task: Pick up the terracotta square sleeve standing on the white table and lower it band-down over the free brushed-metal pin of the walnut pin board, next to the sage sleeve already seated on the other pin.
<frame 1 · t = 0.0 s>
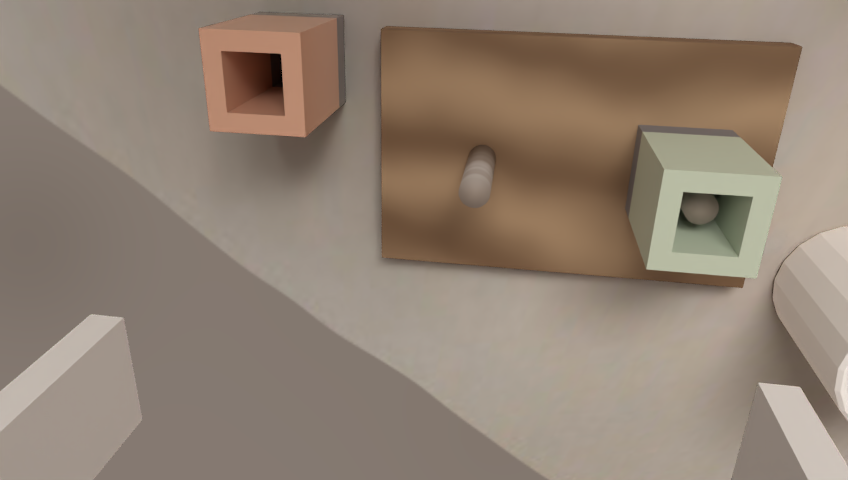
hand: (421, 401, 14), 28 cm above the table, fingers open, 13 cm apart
pin board: (567, 156, 40), on the table
sage sleeve: (676, 170, 38), point 1 cm above the table, touching pin board
terracotta sleeve: (303, 57, 40), on the table
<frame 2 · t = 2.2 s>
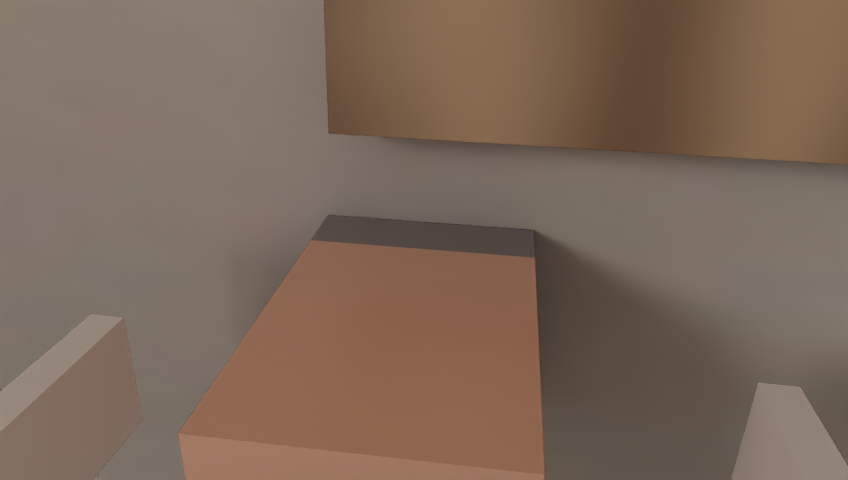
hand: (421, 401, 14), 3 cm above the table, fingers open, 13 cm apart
terracotta sleeve: (426, 312, 17), on the table
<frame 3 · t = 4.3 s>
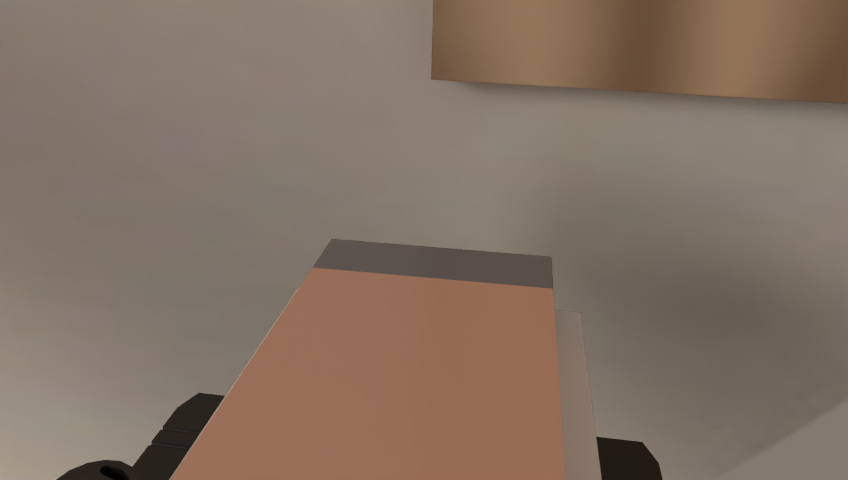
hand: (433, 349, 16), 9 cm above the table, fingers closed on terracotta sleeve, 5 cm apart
terracotta sleeve: (436, 341, 16), point 9 cm above the table, touching gripper
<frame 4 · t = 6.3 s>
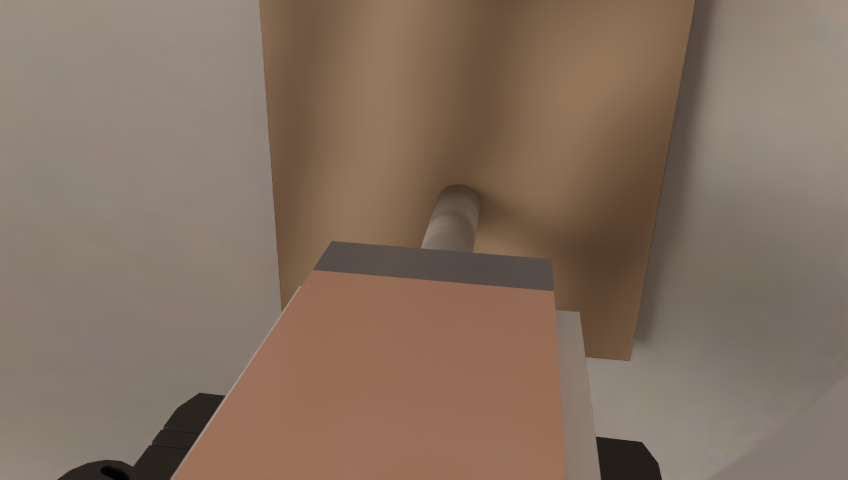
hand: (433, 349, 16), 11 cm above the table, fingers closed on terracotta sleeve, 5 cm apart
pin board: (468, 58, 24), on the table
terracotta sleeve: (436, 343, 16), point 11 cm above the table, touching gripper
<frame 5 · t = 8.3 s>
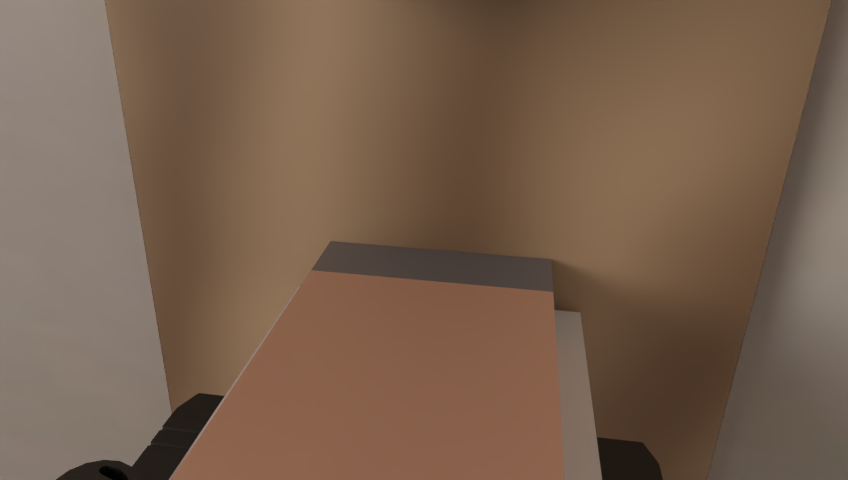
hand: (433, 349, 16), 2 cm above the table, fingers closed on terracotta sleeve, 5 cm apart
pin board: (445, 122, 15), on the table
terracotta sleeve: (435, 344, 16), point 2 cm above the table, touching gripper
when the fingers open (2 cm above the table, at t = 8.4 s): terracotta sleeve stays where it is, resting on pin board.
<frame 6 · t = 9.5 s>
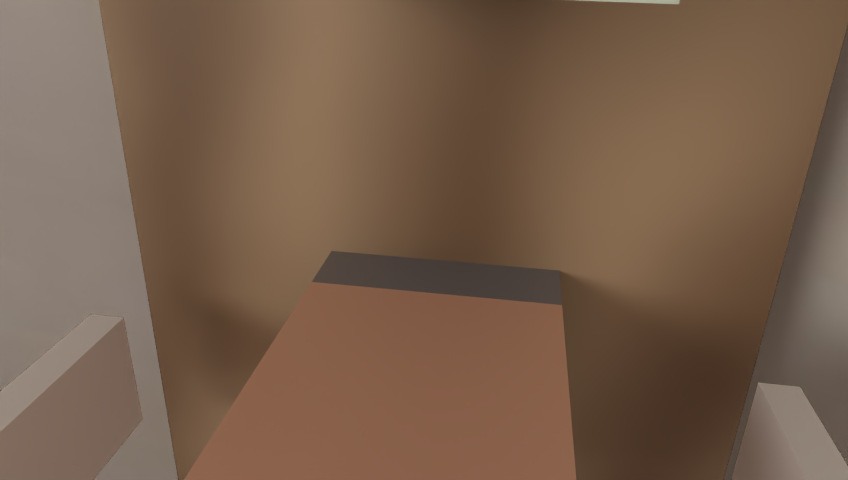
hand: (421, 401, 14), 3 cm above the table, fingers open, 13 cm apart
pin board: (450, 128, 15), on the table
terracotta sleeve: (439, 356, 16), point 1 cm above the table, touching pin board
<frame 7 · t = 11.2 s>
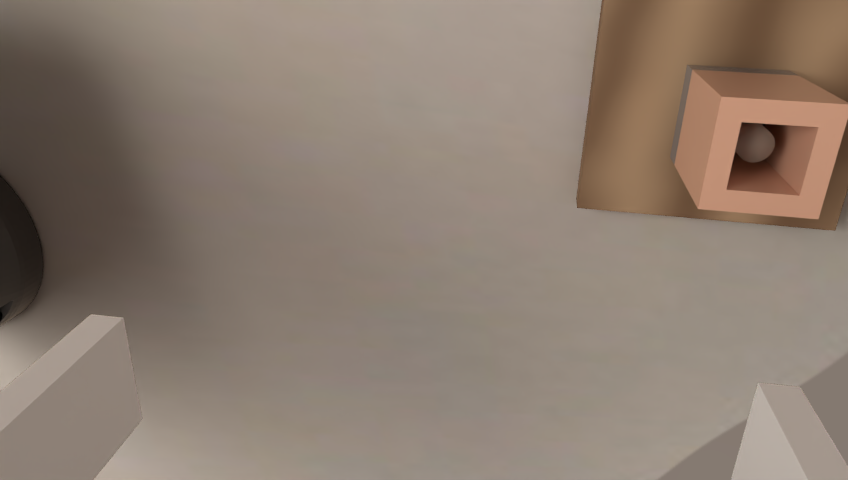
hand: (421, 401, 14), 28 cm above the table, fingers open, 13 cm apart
pin board: (738, 12, 35), on the table
terracotta sleeve: (727, 115, 36), point 1 cm above the table, touching pin board
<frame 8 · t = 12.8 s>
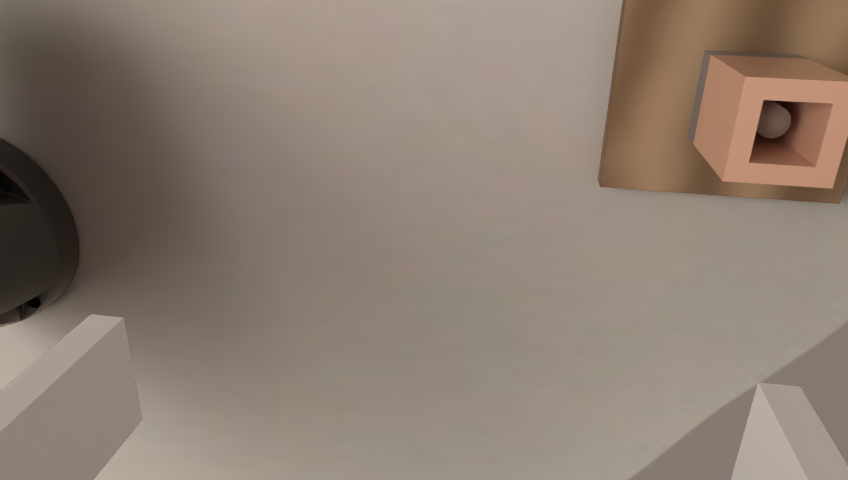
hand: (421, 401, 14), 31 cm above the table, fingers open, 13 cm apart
pin board: (751, 2, 38), on the table
terracotta sleeve: (741, 97, 38), point 1 cm above the table, touching pin board
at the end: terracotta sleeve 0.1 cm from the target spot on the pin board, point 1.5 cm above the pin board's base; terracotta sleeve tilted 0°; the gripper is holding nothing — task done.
